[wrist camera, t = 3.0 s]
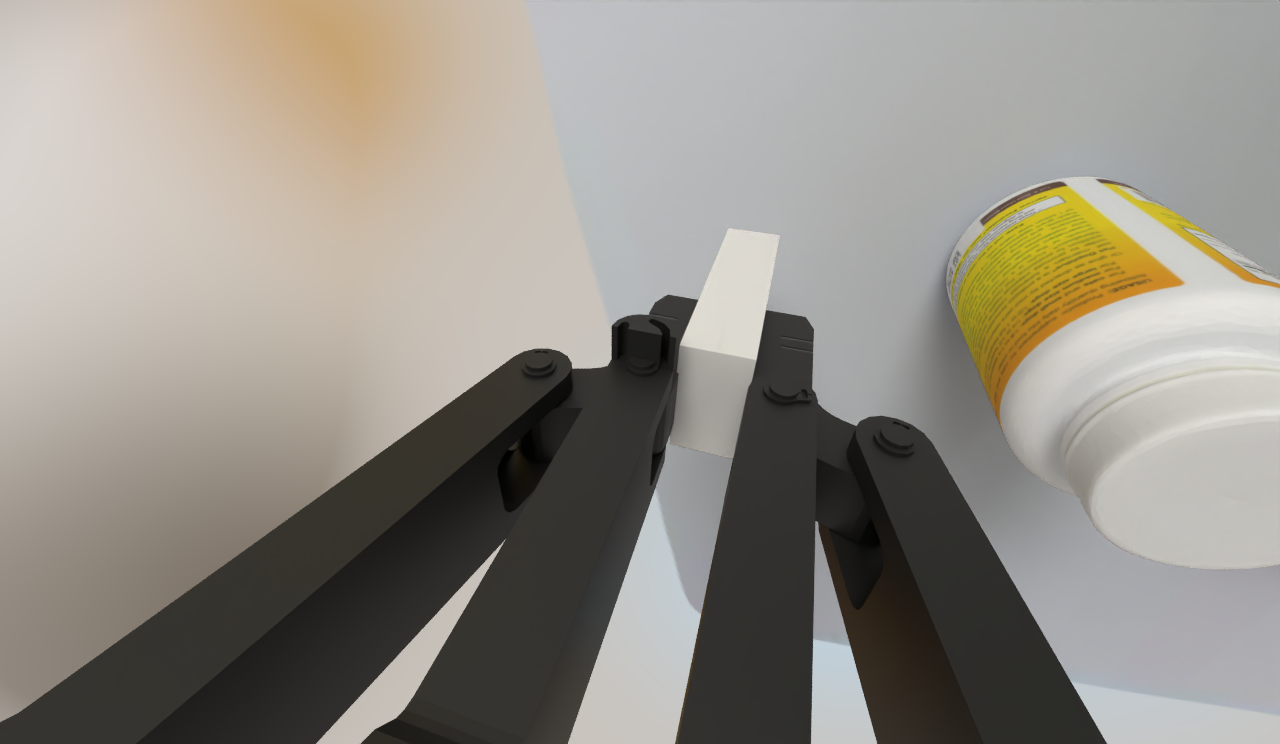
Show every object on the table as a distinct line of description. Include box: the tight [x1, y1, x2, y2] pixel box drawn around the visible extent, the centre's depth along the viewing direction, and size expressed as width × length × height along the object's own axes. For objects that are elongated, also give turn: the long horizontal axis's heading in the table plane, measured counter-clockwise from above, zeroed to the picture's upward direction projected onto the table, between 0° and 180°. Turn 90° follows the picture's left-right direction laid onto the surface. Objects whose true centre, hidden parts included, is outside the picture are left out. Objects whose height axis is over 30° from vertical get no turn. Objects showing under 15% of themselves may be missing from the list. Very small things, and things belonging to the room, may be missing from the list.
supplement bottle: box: [946, 177, 1280, 570], centre depth 12 cm, size 6×6×10 cm
